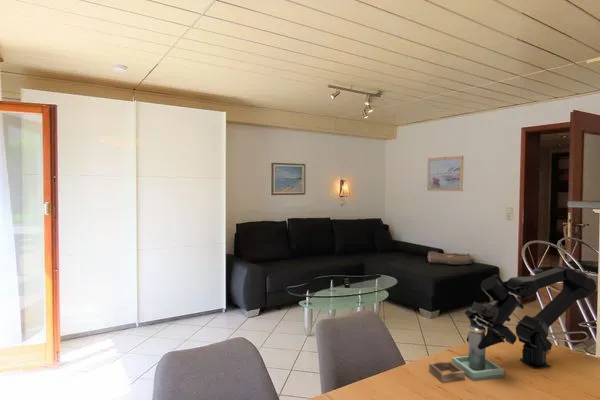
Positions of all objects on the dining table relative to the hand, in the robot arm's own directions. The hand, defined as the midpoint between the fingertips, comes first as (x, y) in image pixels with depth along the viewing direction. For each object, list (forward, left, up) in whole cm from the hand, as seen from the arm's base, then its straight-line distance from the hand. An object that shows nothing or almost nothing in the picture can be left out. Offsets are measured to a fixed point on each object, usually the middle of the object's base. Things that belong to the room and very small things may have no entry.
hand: (473, 345), depth 120 cm
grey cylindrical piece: (-1, 0, -7) cm, 7 cm away
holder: (+10, +1, -9) cm, 13 cm away
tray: (-1, 0, -9) cm, 9 cm away
